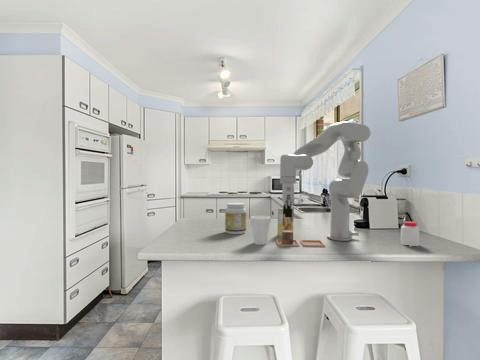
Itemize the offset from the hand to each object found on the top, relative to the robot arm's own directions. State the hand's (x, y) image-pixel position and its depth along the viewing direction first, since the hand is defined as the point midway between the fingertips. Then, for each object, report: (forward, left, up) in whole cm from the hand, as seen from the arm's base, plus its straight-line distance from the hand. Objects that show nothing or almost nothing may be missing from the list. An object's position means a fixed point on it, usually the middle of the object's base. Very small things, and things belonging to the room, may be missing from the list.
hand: (287, 215), depth 141 cm
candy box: (-1, -20, -14) cm, 25 cm away
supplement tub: (+27, -25, -14) cm, 39 cm away
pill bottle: (-60, -5, -14) cm, 62 cm away
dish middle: (0, 0, -14) cm, 14 cm away
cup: (+13, 0, -14) cm, 19 cm away
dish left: (-12, 0, -14) cm, 19 cm away
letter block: (0, 0, -14) cm, 14 cm away
